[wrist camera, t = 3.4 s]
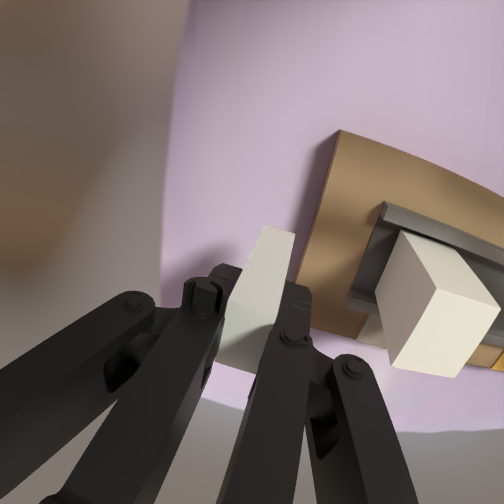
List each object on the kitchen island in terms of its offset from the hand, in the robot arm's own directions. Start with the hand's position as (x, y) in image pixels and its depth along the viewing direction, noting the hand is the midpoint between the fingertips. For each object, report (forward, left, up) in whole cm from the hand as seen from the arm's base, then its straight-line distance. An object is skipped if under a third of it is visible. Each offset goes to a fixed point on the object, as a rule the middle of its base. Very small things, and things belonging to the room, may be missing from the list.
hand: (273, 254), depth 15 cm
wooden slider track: (0, +16, -6) cm, 17 cm away
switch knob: (0, +9, -4) cm, 9 cm away
